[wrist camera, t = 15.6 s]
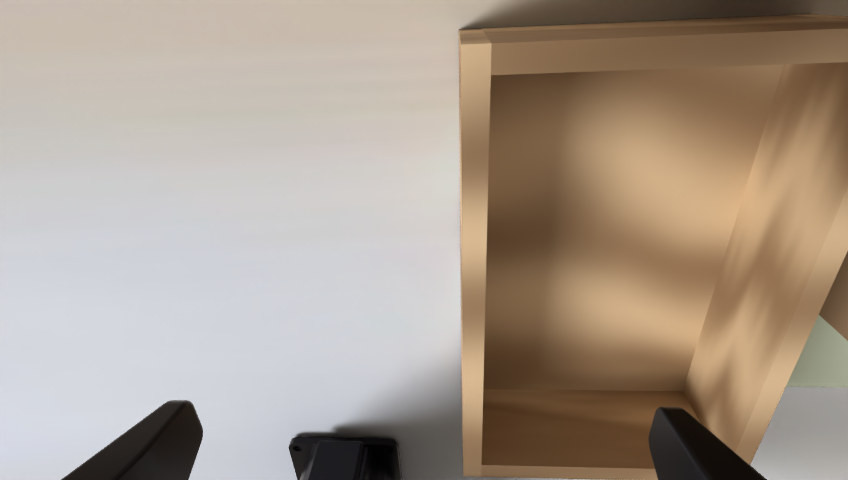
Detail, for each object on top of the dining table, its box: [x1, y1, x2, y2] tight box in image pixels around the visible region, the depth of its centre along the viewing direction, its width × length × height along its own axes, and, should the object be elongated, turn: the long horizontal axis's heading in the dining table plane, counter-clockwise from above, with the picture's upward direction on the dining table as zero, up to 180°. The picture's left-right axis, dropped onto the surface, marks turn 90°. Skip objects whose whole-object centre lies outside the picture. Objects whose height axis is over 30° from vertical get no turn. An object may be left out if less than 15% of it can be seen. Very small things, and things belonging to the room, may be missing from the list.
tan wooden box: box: [459, 14, 848, 480], centre depth 15 cm, size 23×12×9 cm, turn 3°
